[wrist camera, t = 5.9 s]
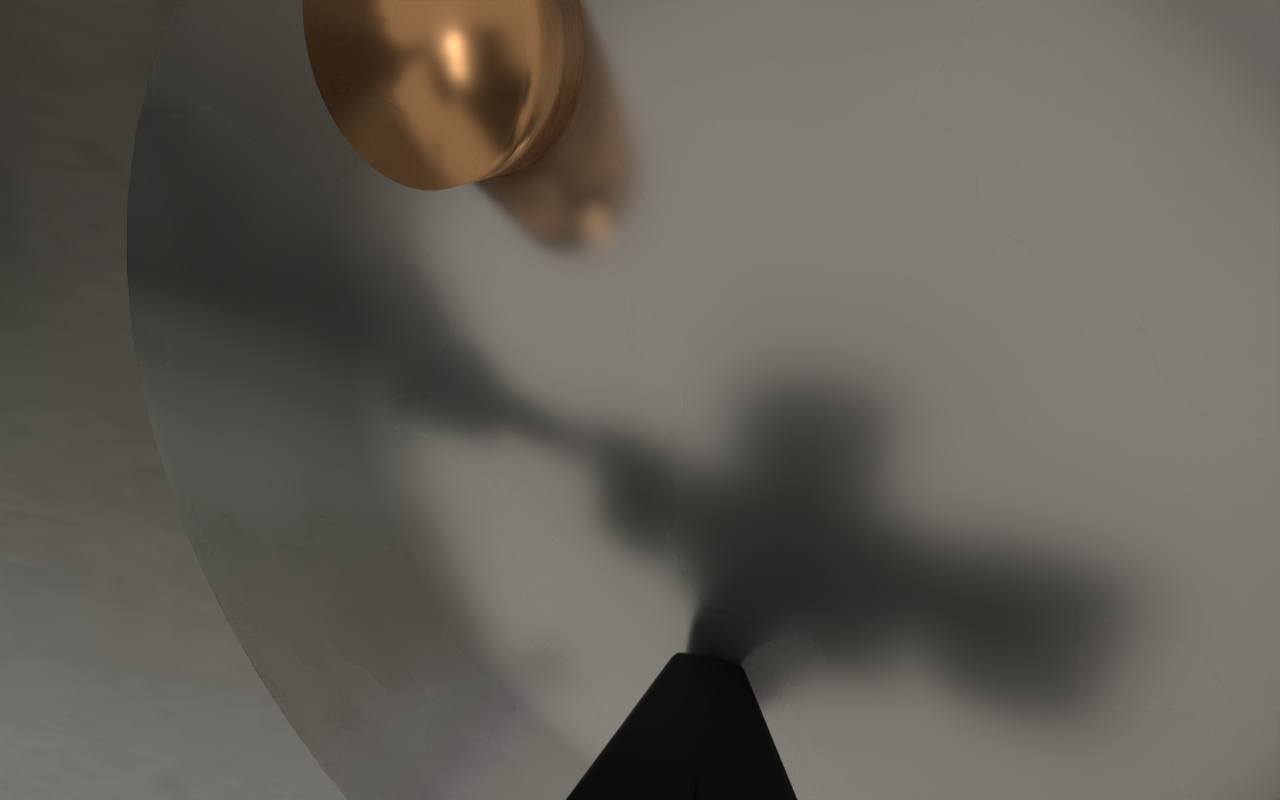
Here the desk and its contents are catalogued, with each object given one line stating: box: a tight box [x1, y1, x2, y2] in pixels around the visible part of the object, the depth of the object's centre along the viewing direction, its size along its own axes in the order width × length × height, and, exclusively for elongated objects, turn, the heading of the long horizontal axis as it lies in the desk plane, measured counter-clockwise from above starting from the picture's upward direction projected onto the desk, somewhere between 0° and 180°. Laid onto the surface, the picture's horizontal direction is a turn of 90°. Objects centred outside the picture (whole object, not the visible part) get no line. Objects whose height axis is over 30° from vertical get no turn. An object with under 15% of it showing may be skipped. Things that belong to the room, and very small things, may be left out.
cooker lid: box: [127, 0, 1280, 800], centre depth 9 cm, size 17×15×2 cm
